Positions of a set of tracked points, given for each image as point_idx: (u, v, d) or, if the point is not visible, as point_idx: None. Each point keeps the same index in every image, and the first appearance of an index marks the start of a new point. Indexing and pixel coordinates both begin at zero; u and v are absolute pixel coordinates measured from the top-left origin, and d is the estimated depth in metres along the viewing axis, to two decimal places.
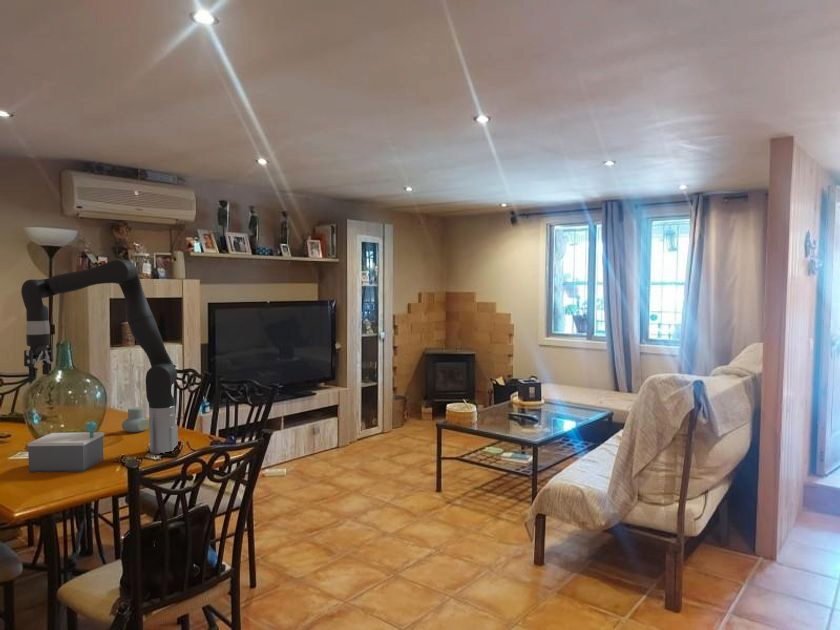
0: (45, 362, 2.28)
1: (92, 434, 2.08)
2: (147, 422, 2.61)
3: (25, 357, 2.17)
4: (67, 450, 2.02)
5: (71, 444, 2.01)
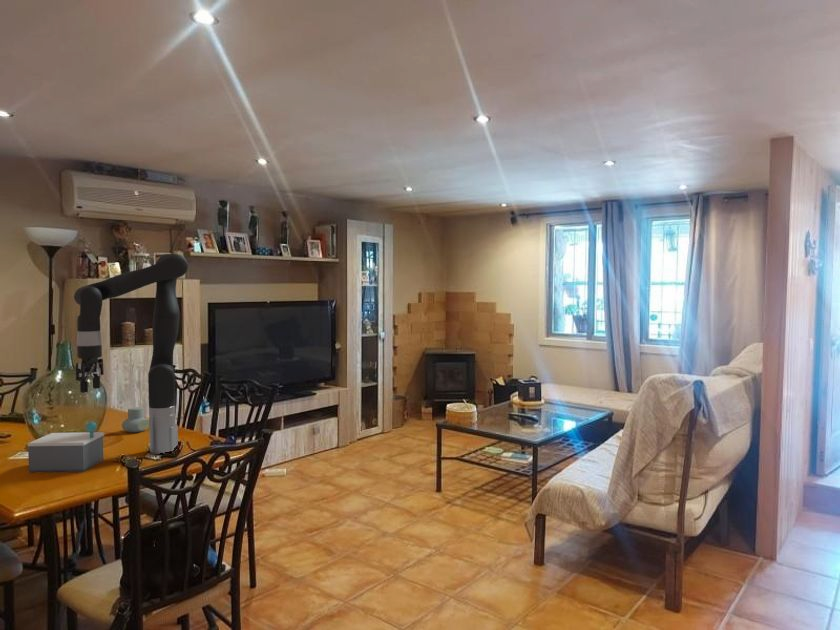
0: (96, 375, 2.12)
1: (92, 434, 2.08)
2: (147, 422, 2.61)
3: (77, 370, 2.01)
4: (67, 450, 2.02)
5: (71, 444, 2.01)
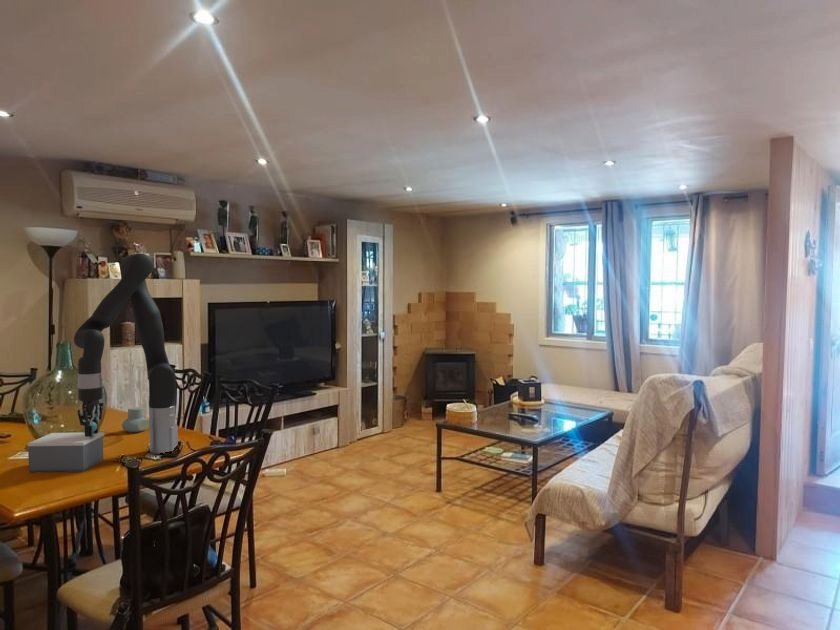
0: (94, 420, 2.11)
1: (92, 434, 2.08)
2: (147, 422, 2.61)
3: (80, 417, 2.03)
4: (67, 450, 2.02)
5: (71, 444, 2.01)
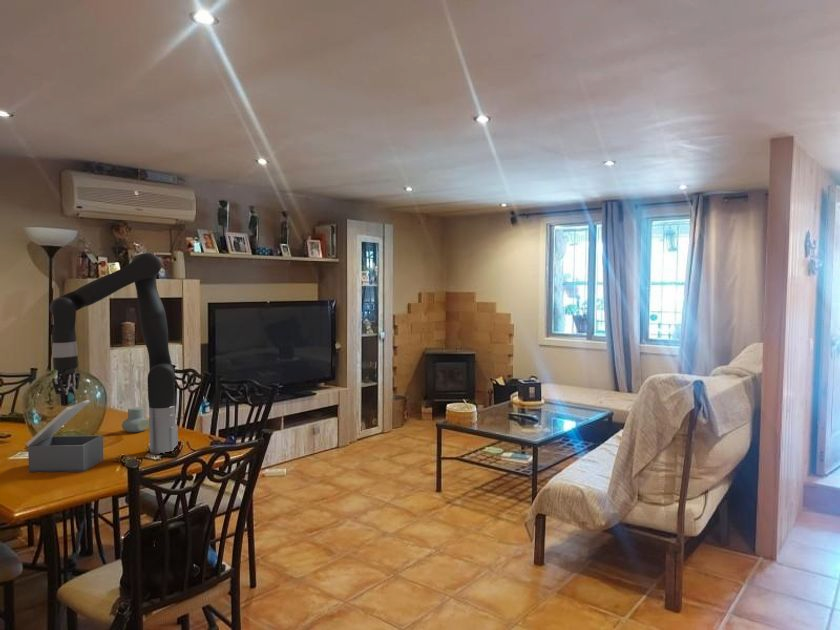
0: (70, 389, 2.10)
1: (74, 402, 2.08)
2: (147, 422, 2.61)
3: (55, 386, 2.02)
4: (67, 450, 2.02)
5: (58, 416, 2.01)
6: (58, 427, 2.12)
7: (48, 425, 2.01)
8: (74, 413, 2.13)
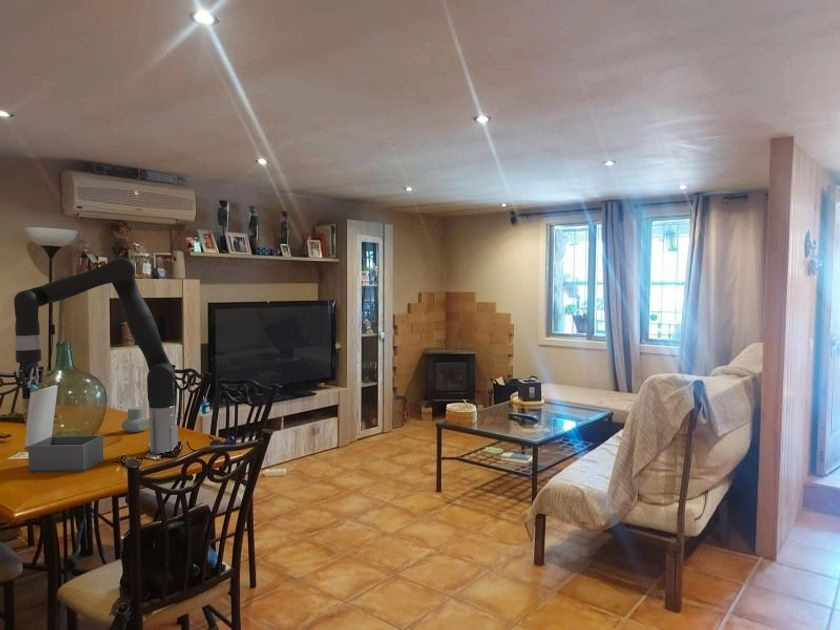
0: (33, 383, 2.09)
1: (39, 389, 2.07)
2: (147, 422, 2.61)
3: (16, 379, 2.01)
4: (67, 450, 2.02)
5: (31, 404, 2.00)
6: (48, 422, 2.12)
7: (29, 417, 2.00)
8: (51, 402, 2.12)
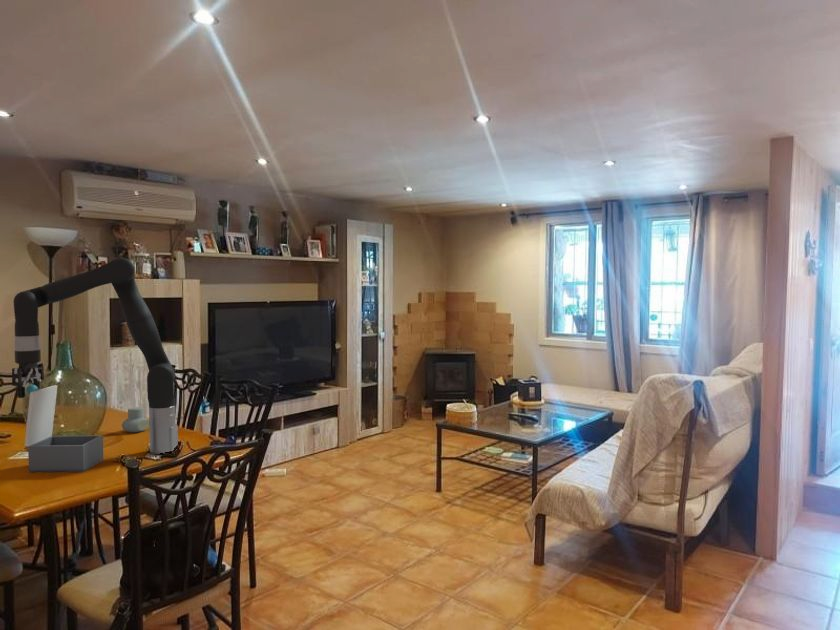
0: (35, 380, 2.11)
1: (39, 389, 2.07)
2: (147, 422, 2.61)
3: (13, 376, 2.00)
4: (67, 450, 2.02)
5: (30, 404, 2.00)
6: (48, 422, 2.12)
7: (29, 417, 2.00)
8: (51, 402, 2.12)
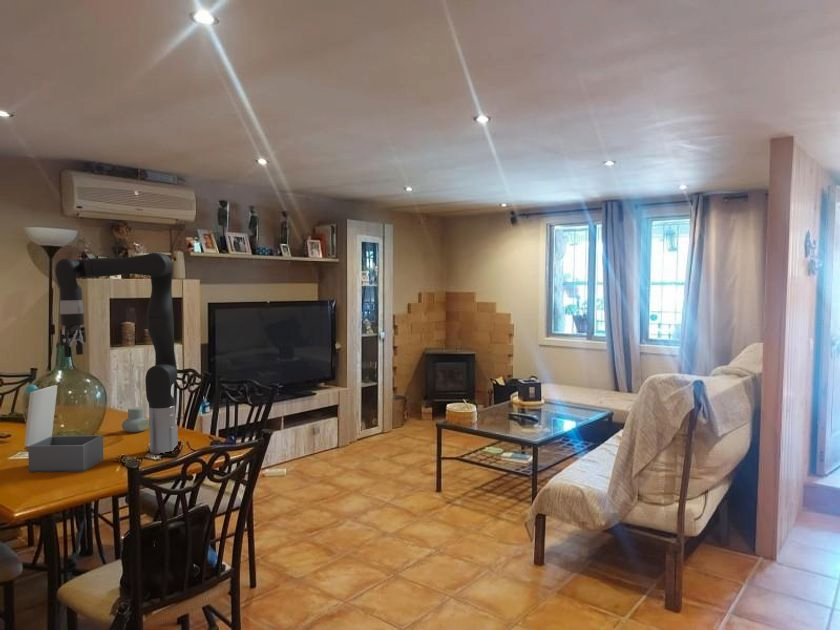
0: (78, 342, 2.28)
1: (39, 389, 2.07)
2: (147, 422, 2.61)
3: (61, 336, 2.16)
4: (67, 450, 2.02)
5: (30, 404, 2.00)
6: (48, 422, 2.12)
7: (29, 417, 2.00)
8: (51, 402, 2.12)
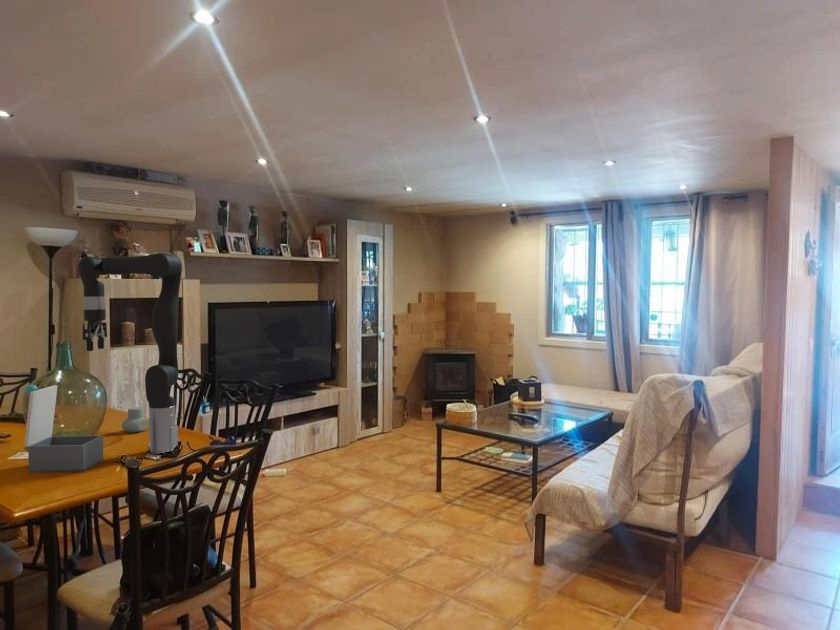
0: (100, 337, 2.37)
1: (39, 389, 2.07)
2: (147, 422, 2.61)
3: (84, 331, 2.26)
4: (67, 450, 2.02)
5: (30, 404, 2.00)
6: (48, 422, 2.12)
7: (29, 417, 2.00)
8: (51, 402, 2.12)
